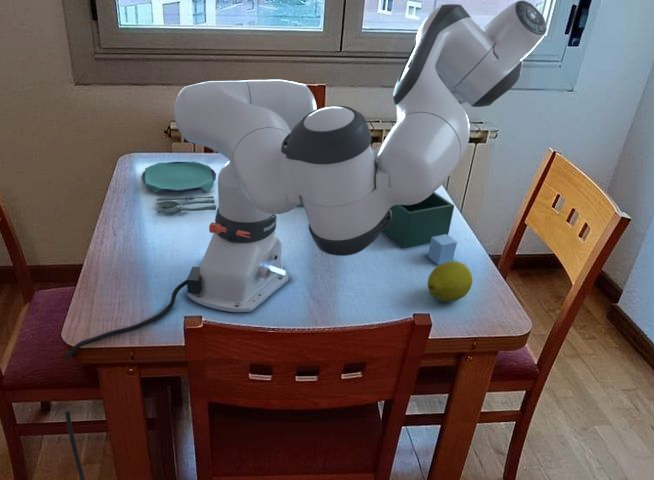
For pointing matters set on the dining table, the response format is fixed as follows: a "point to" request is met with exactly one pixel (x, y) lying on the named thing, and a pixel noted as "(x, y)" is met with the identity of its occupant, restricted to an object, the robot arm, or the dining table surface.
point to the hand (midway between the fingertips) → (436, 106)
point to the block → (442, 249)
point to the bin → (420, 221)
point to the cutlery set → (179, 183)
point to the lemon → (450, 281)
